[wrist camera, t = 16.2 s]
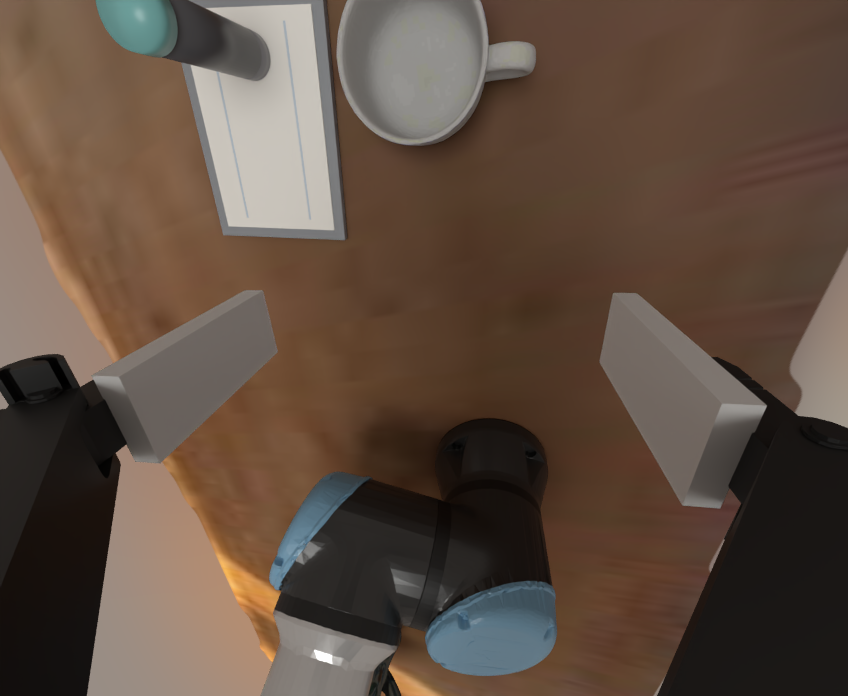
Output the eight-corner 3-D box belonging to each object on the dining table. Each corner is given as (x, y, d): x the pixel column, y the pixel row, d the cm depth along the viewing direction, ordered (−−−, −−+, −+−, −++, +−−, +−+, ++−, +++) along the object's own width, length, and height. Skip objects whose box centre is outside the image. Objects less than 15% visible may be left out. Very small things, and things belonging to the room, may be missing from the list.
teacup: (360, 132, 35) (329, 128, 28) (374, -21, 30) (340, -72, 23) (503, 164, 35) (508, 168, 28) (544, 15, 29) (562, -26, 22)
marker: (275, 81, 33) (168, 51, 22) (236, 82, 34) (111, 53, 23) (266, 27, 32) (144, -37, 20) (225, 28, 32) (83, -33, 21)
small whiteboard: (347, 238, 40) (344, 240, 39) (227, 233, 42) (222, 235, 41) (325, -9, 31) (320, -14, 30) (171, -2, 32) (162, -6, 31)
